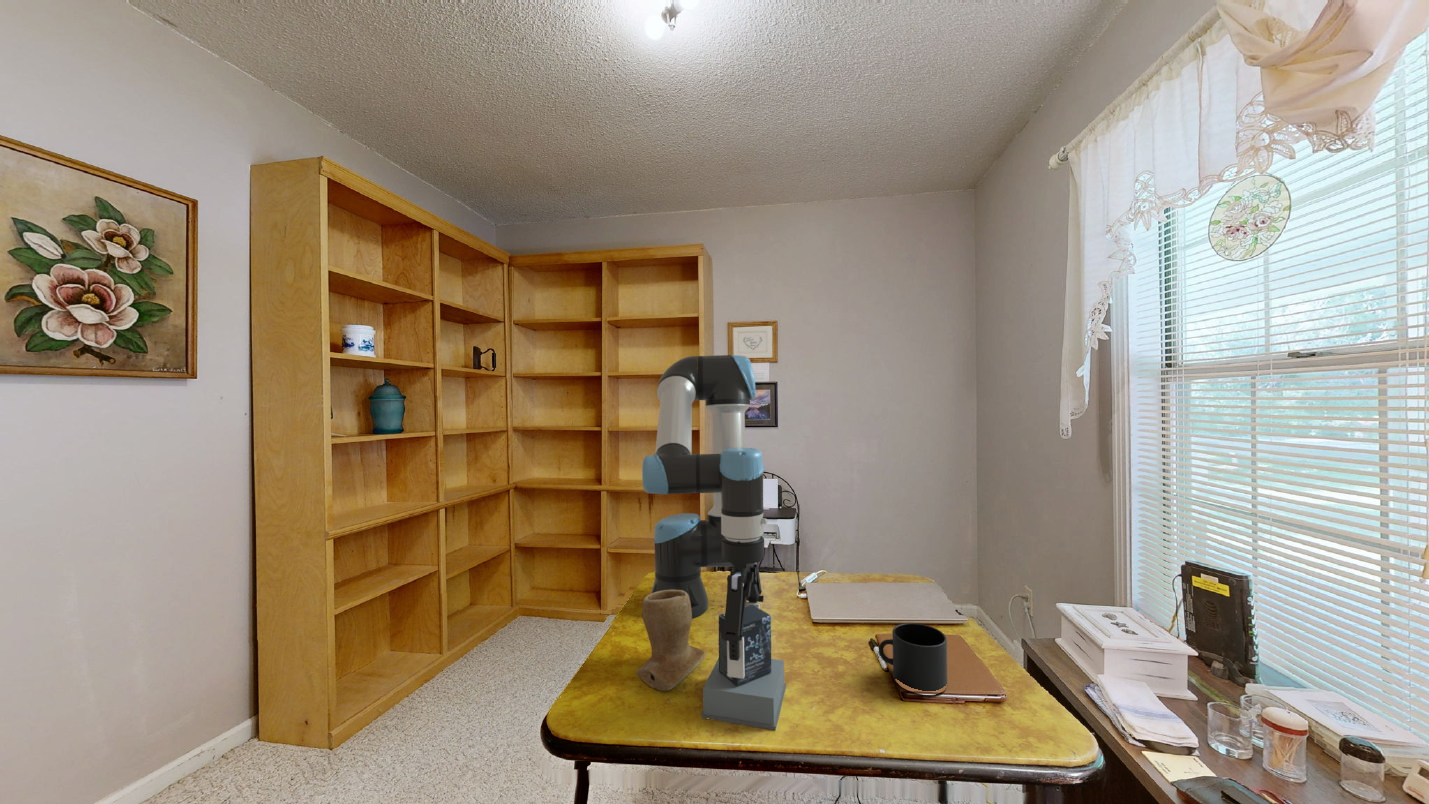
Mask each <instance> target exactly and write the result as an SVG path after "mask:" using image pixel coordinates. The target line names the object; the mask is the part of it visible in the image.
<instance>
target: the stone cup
mask: <svg viewBox="0 0 1429 804" xmlns="http://www.w3.org/2000/svg"><path fill="white" fill-rule="evenodd" d="M641 605H642V606H641V607H642V610H641V611H642V621H643V625H644V628H645V629H646V633H647V636H648V640H649V642H650V648H651V654H650V655H651V656H650V657H649V658H648V659H647V660H646V661H645V662H644V663H643V664H642V665H641V666H640V667H639V668H638V669H636V675H637V676H638V677H640V679H642V681H643V683H644V682H645V683H646V684H647V686H650V687H651V688H653V689H655V690H658V691H662V692H665V691H666V692H668V691H671V690H672V689H673V688H676V686H678V685H679V684H681V682H682V681H683V680H685V679H686V678H687V677H688V676H689V675H690V674H691V673H693V671H694V670H696V668H698V666H699V665H700V664H701V663H703V661H704V659H705V658H706V656H707V655H706V651H705V650H702V649H700V648H699V647H695V646H692V645H690V644H689V639H690V631H691V626H692V619H693V618H692V611H691V603H690V598H689V595H688V594H687V592H685V591H683V590H663V591H657V592H654V593H651V592H650V593H649V594H648V595H646V596H645V597H644V598H643V601H642V604H641Z"/></svg>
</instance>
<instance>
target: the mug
mask: <svg viewBox="0 0 1429 804" xmlns="http://www.w3.org/2000/svg"><path fill="white" fill-rule="evenodd" d="M891 633H892V638H890V639H887V638H886V639H884V640H882V641H881V642H880V644H879V646H878V654H879V656H880V658H881V659H882V660H883V661H884V662H886V663H887V664H889V665H891V666H892V677H893V680H894V681H895V679H897V680H899V681H900V682H902V683H903V684H905V685H907V686H909V687H911V688H914V689H918V690H922V691H936V690H939V689H941V688H943V687H944V686H946V684H947V685H948V639H947V636H946V635H945V633H943V632H942V631H941V630H939V629H938V628H935V627H933V626H930V625H927V624H923V623H916V622H915V623H913V622H905V623H899V624H897V625H895V626H894V627H893V629H892V632H891ZM887 645H891V646H892V657H888V656H887V655H886V653H884V648H885V646H887Z"/></svg>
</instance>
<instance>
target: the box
mask: <svg viewBox="0 0 1429 804" xmlns="http://www.w3.org/2000/svg"><path fill="white" fill-rule="evenodd" d="M724 621H725V613H721V614H718V658H719V673H720V674H721V675H723V676H724V677H725V678H726V679H727V680H728V681H730V682H731V683H732V684H733V685H734V686H735V687H737V686H739V685H741V684H744V683H746V682H749V681H751V680H754V679H756V678H759V677H761V676H764V675H766V674H769V673H771V659H772V615H771V614H770V613H768V612H766V611H764V610H763V609H761V608H760V609H759V608H757V607H756V606H754V605H750V606H748V607H746V608H745V616H744V624H743V633H742V637H744V669H745V677H744V679H742V678H735V677H728V673H727V641H726V640H723V638H722V637H721V634H722V633H723V632H724Z"/></svg>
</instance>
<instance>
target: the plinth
mask: <svg viewBox="0 0 1429 804" xmlns="http://www.w3.org/2000/svg"><path fill="white" fill-rule="evenodd" d="M786 688H787V683H786V682H785V660H783V659H776V658H771V673H769V674H766V675H764V676H761V677H759V678H756V679H754V680H751V681H749V682H746V683H744V684H741V685H739V686H737V687H735V686H734V685H733V684H732V683H731V682H730V681H728V680H727V679H726V678H725V677H724V676H723V675H721V674H720V673H719V657H718V658H717V660H716V662H715V663H714V666H713V668H712V670H711V672H710V674H709V675H708V678H707V680H706V681H705V683H704V685H703V687H702V693H703V694H702V701H703V703H702V704H703V706H702V708H703V710H702V712H701V714H700V715H701V717H702V718H701V719H705V718H709V719H708V720H711V719H713V720H712V721H718V722H724V723H729V724H735V725H741V726H747V727H752V728H753V727H754V728H759V729H760V728H761V729H767V730H771V731H776V729H777V725H778V721H779V717H780V713H781V709H782V705H783V701H784V696H785V693H786Z"/></svg>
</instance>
